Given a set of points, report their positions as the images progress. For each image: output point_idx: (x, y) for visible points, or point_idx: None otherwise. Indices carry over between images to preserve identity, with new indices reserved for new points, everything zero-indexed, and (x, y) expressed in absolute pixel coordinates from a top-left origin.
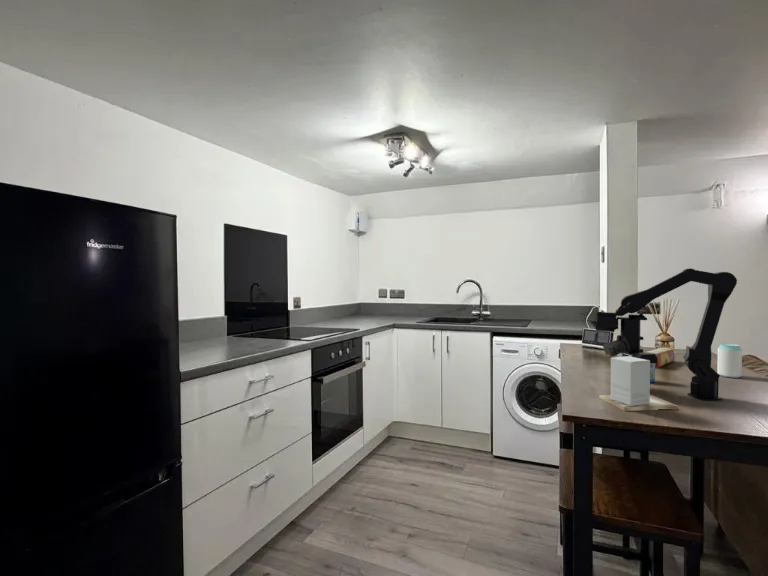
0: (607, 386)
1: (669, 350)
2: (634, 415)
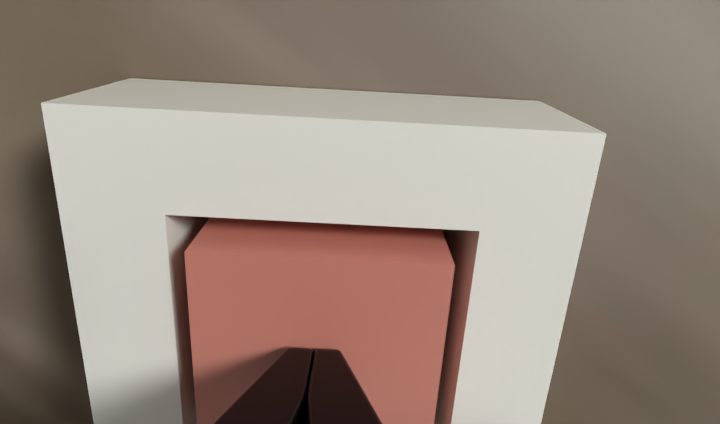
0: (567, 53)
1: None
2: None
